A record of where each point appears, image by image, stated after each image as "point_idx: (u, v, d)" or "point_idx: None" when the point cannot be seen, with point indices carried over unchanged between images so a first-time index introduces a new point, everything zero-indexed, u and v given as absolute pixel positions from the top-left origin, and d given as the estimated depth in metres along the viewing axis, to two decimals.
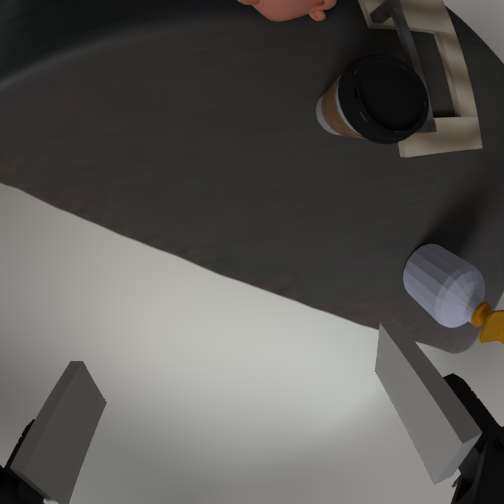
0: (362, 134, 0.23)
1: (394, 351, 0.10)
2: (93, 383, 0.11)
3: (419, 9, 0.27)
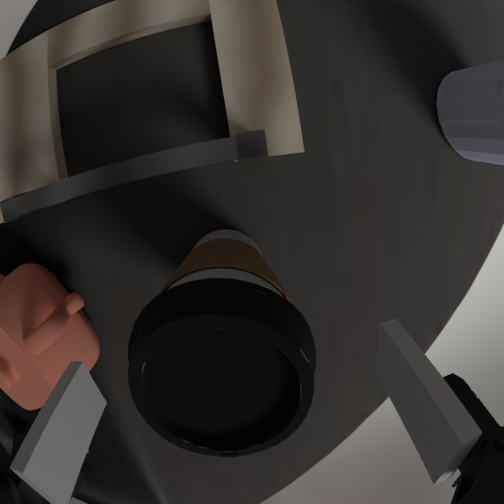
0: None
1: (394, 351, 0.10)
2: (93, 383, 0.11)
3: (18, 106, 0.17)
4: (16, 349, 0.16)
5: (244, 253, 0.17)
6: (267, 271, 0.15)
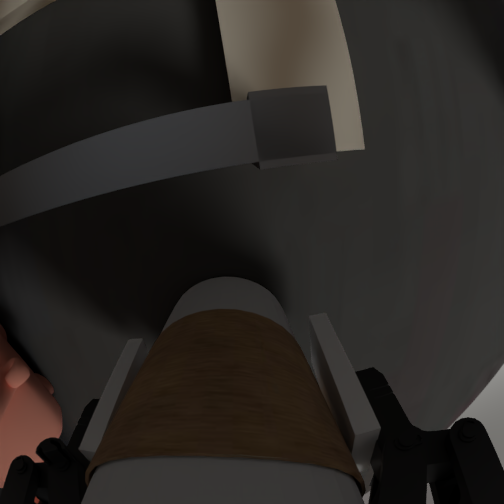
0: None
1: (316, 342, 0.11)
2: None
3: None
4: None
5: (266, 369, 0.07)
6: (317, 420, 0.06)
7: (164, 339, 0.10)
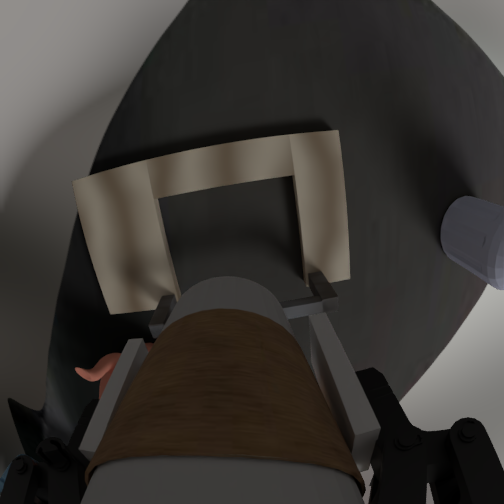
0: None
1: (316, 342, 0.11)
2: None
3: (127, 228, 0.29)
4: None
5: (266, 369, 0.07)
6: (317, 419, 0.06)
7: (164, 339, 0.10)
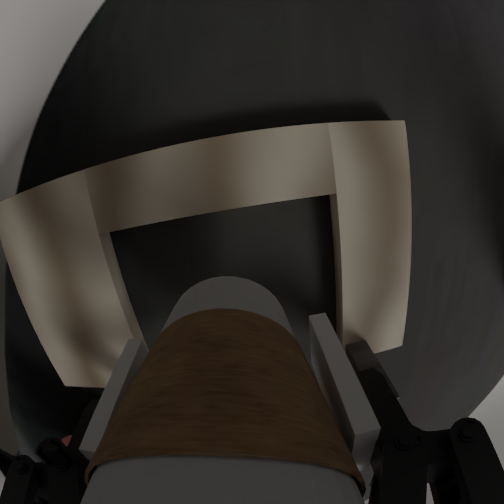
0: None
1: (317, 342, 0.11)
2: None
3: (66, 278, 0.17)
4: None
5: (265, 369, 0.07)
6: (317, 419, 0.06)
7: (164, 338, 0.10)
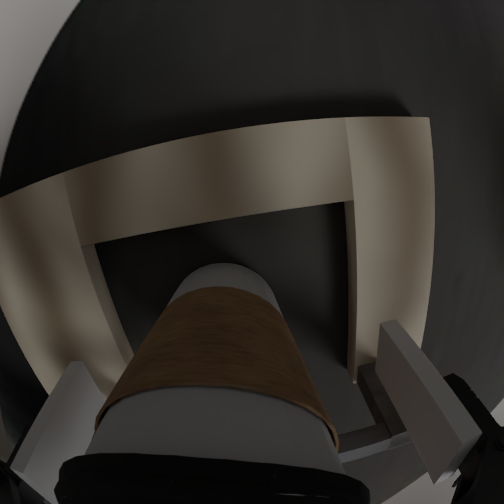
0: None
1: (394, 351, 0.10)
2: (93, 383, 0.11)
3: (48, 294, 0.15)
4: None
5: (251, 329, 0.09)
6: (293, 370, 0.08)
7: (168, 311, 0.11)
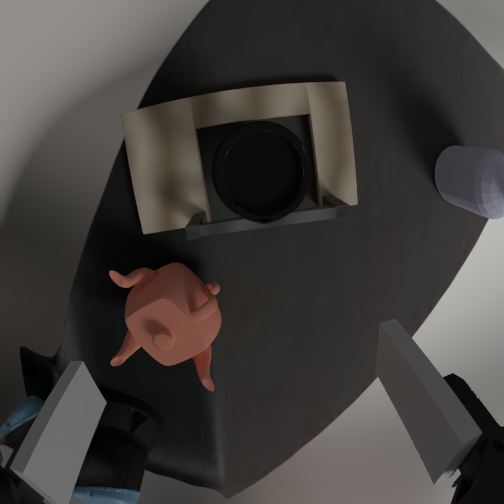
0: None
1: (393, 351, 0.10)
2: (93, 383, 0.11)
3: (168, 152, 0.34)
4: (183, 319, 0.33)
5: None
6: None
7: None
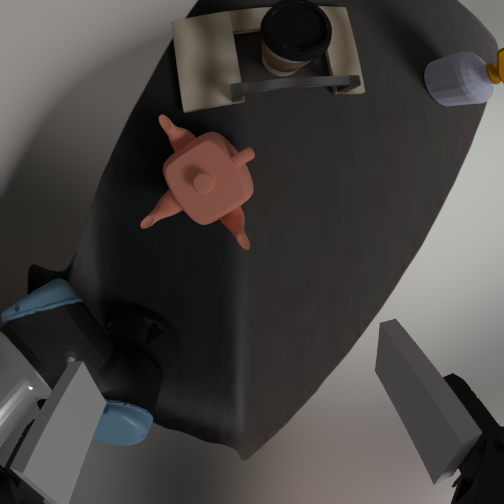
0: (325, 50, 0.28)
1: (393, 351, 0.10)
2: (93, 383, 0.11)
3: (211, 47, 0.36)
4: (224, 162, 0.35)
5: None
6: None
7: None
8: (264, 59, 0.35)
